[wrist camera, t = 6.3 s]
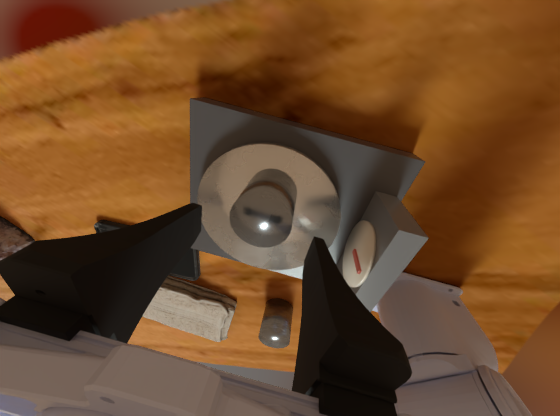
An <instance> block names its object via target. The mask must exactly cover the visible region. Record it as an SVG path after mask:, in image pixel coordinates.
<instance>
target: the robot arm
mask: <svg viewBox="0 0 560 416" xmlns="http://www.w3.org/2000/svg"><path fill="white" fill-rule="evenodd" d="M201 224H202V205H199V204H196V203H191V204H188V205H185V206H183V207H181V208H178V209H176V210H173V211H171V212H168V213H166V214H163V215H161V216H158V217H155V218H153V219H150V220H147V221H144V222H141V223H138V224H135V225H131V226H127V227H124V228H120V229H115V230H110V231H106V232H101V233H96V234H90V235H84V236H77V237H70V238H61V239H52V240H41V241H35V242H33V243H31V244H30V245H28V246H26V247H24V248H22V249H21V250H19V251H17V252H15V253H13V254H11V255H10V256H8V257H6V258H4V259H2V260H0V274H1V276H2V278H3V279H4V280H5V282H6V283H7V284H8V286H9V287H10V289H11V290H12V291H13V293H14V294H15V296H14V297H12V298H11V299H9V300H8V301H7V302H6V301H5V300H3V299H1V298H0V416H532V415H531V413H530V412H529V410H528V409H527V407H526V406H525V405H524V403H523V402H522V400H521V399H520V398H519V396H518V395H517V394H516V392H515V391H514V390H513V388H512V387H511V386H510V384H509V383H508V382H507V381H506V380H505V378H504V377H503V376H502V375H501V374H500V373H499V372H498V361H497V356H496V353H495V350H494V348H493V346H492V344H491V342H490V341H489V339H488V338H487V336H486V335H485V333H484V332H483V331H482V329H481V328H480V326H479V325H478V323H477V322H476V321H475V319H474V318H473V316H472V315H471V313H470V312H469V310H468V309H467V308H466V306H465V305H464V303H463V302H462V300H461V299H460V297H459V296H460V295H461V294H462V293H463V291H462V289H461V288H459V287H455V286H451V285H448V284H444V283H440V282H437V281H433V280H430V279H426V278H422V277H419V276H415V275H412V274H408V273H404V272H402V273H401V274H400V275H399V277H398V278H397V279H396V280H395V282H394V283H393V284H392V285H391V287H390V288H389V289H388V291H387V292H386V293H385V294H384V296H383V297H382V298H381V299H380V301H379V302H378V303H377V304H376V306H375V307H374V308H373V310H372V311H376V312H378V313H379V317H380V320H381V323H380V322H379V321H378V320H377V319H376V318H375V317H374V316H373V315H372V314H371V313H370V312H369V310H368V309H367V308H366V307H365V306H364V305H363V303H362V302H361V301H360V300H359V299H358V297H357V296H356V295H355V294H354V292H353V291H352V289H351V288H350V287H349V285H348V284H347V282H346V281H345V279H344V278H343V276H342V274H341V273H340V271H339V269H338V267H337V266H336V264H335V262H334V260H333V258H332V256H331V254H330V252H329V250H328V247H327V245H326V243H325V241H324V239H322V238H318V237H315V236H314V237H313V240H312V242H311V245H310V247H309V250H308V252H307V254H306V257H305V259H304V266H303V274H302V317H301V327H300V335H299V344H298V352H297V359H296V366H295V374H294V380H293V387H292V391H290V390H287V389H283V388H279V387H277V386H273V385H269V384H266V383H262V382H259V381H256V380H252V379H248V378H245V377H242V376H238V375H235V374H231V373H228V372H224V371H221V370H217V369H214V368H210V367H207V366H205V365H202V364H200V363H197V362H193V361H190V360H187V359H183V358H180V357H176V356H173V355H169V354H166V353H162V352H159V351H155V350H152V349H148V348H145V347H141V346H137V345H131V344H127V342H128V340H129V339H130V337H131V335H132V333H133V331H134V330H135V328H136V326H137V324H138V323H139V321H140V319H141V317H142V316H143V314H144V312H145V311H146V309H147V307H148V306H149V304H150V302H151V301H152V299H153V298H154V296H155V294H156V293H157V291H158V290H159V288H160V287H161V285H162V284H163V282H164V281H165V279H166V278H167V276H168V275H169V274H170V272H171V271H172V270H173V268H174V267H175V266H176V265H177V264H178V262H179V261H180V260H181V259H182V257H183V256H184V255H185V254H186V253H187V251H188V250H189V249H190V248H191V246H192V245H193V244H194V242H195V241H196V239H197V237H198V236H199V234H200V232H201Z"/></svg>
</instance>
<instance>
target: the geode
mask: <svg viewBox="0 0 560 416" xmlns="http://www.w3.org/2000/svg"><path fill="white" fill-rule="evenodd" d="M33 242H35V240H34V239H33V238H32V237H31V236H30V235H28V234H27V233H25V232H24V231H23V230H21V229H20V228H18V227H17V226H15V225H13V224H12V223H10V222H9V221H7V220H6V219H4V218H2V217H0V260H2V259H4V258H6V257H8V256H10V255H11V254H13V253H15V252H17V251H19V250H21V249H22V248H24V247H26V246H28V245H30V244H31V243H33Z"/></svg>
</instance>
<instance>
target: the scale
mask: <svg viewBox="0 0 560 416" xmlns="http://www.w3.org/2000/svg"><path fill="white" fill-rule="evenodd" d="M259 142H266V143H276V144H281V145H285V146H288V147H291V148H294V149H296V150H298V151H300V152H302V153H304V154H306V155H307V156H309V157H310V158H311V159H313V160H314V161H315V162H316V163H317V164H319V165H320V166H321V167H322V168H323V170H324V171H325V172H326V173H327V174H328V176H329V177H330V179H331V181H332V182H333V184H334V187H335V189H336V191H337V195H338V198H339V202H340V210H341V221H340V226H339V230H338V233H337V235H336V238H335V239H334V241H333V243H332V244H331V246H330V247H329V248H328V250H329V252H330V254H331V256H332V258H333V260H334V262H335V264H336V266H337V267H338V269H339V271H340V273H341V274H342V276H343V278H344V279H345V281H346V282H347V284H348V285H349V287H350V288H351V289H352V291H353V292H354V294H355V295H356V296H357V297H358V299H359V300H360V301H361V302H362V303H363V305H364V306H365V307H366V308H367V309H368V310H369V312H371V311H372V310H373V308H374V307H375V306H376V304H377V303H378V302H379V301H380V299H381V298H382V297H383V296H384V294H385V293H386V292H387V291H388V289H389V288H390V287H391V285H392V284H393V283H394V282H395V280H396V279H397V278H398V277H399V275H400V274H401V273H402V271H403V270H404V269H405V268H406V266H407V265H408V264H409V263H410V261H411V260H412V259H413V258H414V256H415V255H416V254H417V252H418V251H419V250H420V249H421V247H422V246H423V245H424V244H425V242H426V241H427V240H428V239H429V238H428V236H427V235H426V234H425V233H424V231H423V230H422V229H421V227H420V226H419V225H418V223H417V222H416V221H415V219H414V218H413V217H412V216H411V214H410V213H409V212H408V210H407V209H406V208H405V206H404V205H403V204H402V202H401V200H402V199H403V197H404V196H405V194H406V192H407V191H408V189H409V187H410V186H411V184H412V183H413V181H414V179H415V178H416V176H417V175H418V173H419V171H420V170H421V168H422V166H423V165H424V163H425V161H423V160H422V159H420V158H419V157H417V156H416V155H414V154H413V153H409V152H405V151H401V150H398V149H394V148H390V147H387V146H383V145H379V144H375V143H372V142H368V141H364V140H361V139H357V138H353V137H349V136H346V135H342V134H338V133H334V132H331V131H327V130H323V129H320V128H316V127H312V126H308V125H305V124H301V123H297V122H294V121H290V120H286V119H282V118H279V117H275V116H271V115H267V114H264V113H260V112H256V111H253V110H249V109H245V108H241V107H238V106H234V105H230V104H227V103H223V102H219V101H215V100H212V99H208V98H204V97H203V98H190V204H191V203H196V204H198V203H197V196H198V189H199V185H200V182H201V179H202V177H203V175H204V173H205V172H206V170H207V169H208V168H209V166H210V165H211V164H212V163H213V162H214V161H215V160H216V159H218V158H219V157H220V156H222V155H223V154H224V153H226V152H228V151H230V150H231V149H233V148H236V147H239V146H241V145H245V144H250V143H259ZM191 248H192V249H196V250H199V251H203V252H206V253H210V254H214V255H217V256H221V257H224V258H228V259H232V260H235V261H239V260H237V259H235V258H233V257H232V256H230V255H229V254H227V253H226V252H225V251H223V250H222V249H221V248H220V247H219V246H218V245H217V244H216V243H215V242H214V241H213V240H212V238H211V237H210V236H209V234H208V233H207V231H206V230H205V228H204V226H203V224H201V232H200V234H199V236H198V237H197V239H196V241H195V242H194V244H193V245H192V246H191ZM239 262H241V261H239ZM242 263H243V262H242ZM303 266H304V265H303ZM303 266H301V267H297V268H293V269H287V270H271V271H275V272H278V273H282V274H286V275H289V276H293V277H296V278H300V279H302V274H303ZM268 270H269V269H268Z"/></svg>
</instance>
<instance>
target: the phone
mask: <svg viewBox="0 0 560 416" xmlns="http://www.w3.org/2000/svg"><path fill="white" fill-rule="evenodd" d="M127 226H129V225H125V224H120V223H116V222H111V221H107V220H100V221H99V222H97V223H96V224H95V225H94V227H95V230H96V233H101V232H106V231H110V230H115V229H120V228H124V227H127ZM198 264H199V265H198ZM169 275H170V276H174V277H179V278H183V279H187V280H192V281H195V280H197V279H198V278H199V276H200V260H199V250H196V249H192V248H190V249H189V250H188V251H187V253H186V254H185V255H184V256H183V257H182V259H181V260H180V261H179V262H178V264H177V265H176V266H175V267H174V268H173V270H172V271H171V272H170V274H169Z"/></svg>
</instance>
